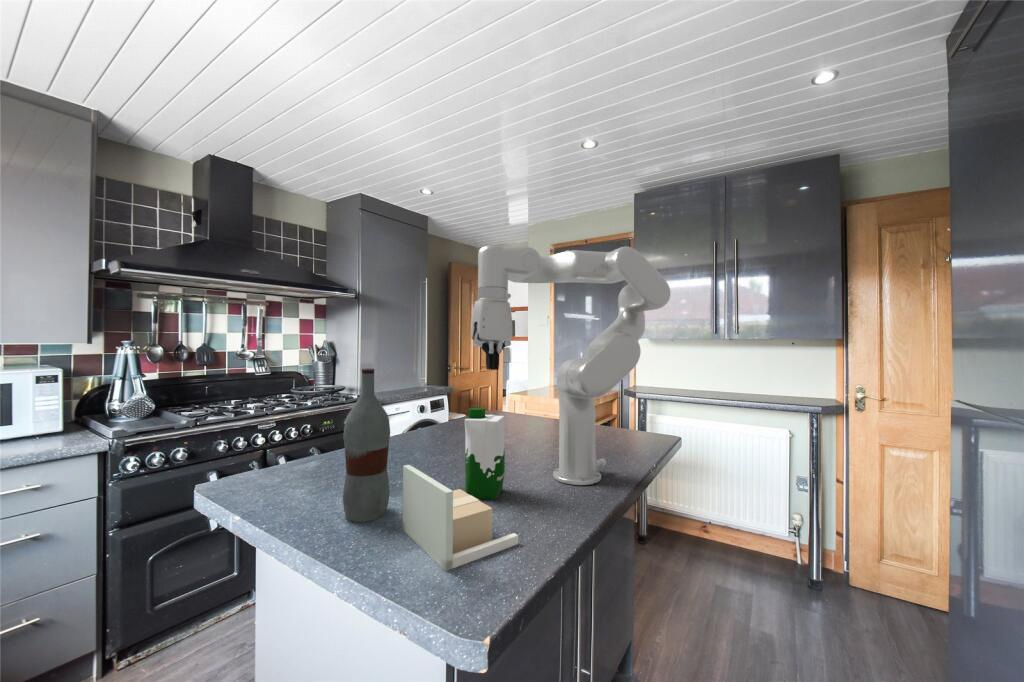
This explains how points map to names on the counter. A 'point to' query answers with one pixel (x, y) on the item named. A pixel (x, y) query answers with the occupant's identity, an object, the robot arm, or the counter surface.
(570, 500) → the counter surface
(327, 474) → the counter surface
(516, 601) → the counter surface
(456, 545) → the kraft carton
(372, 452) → the bottle
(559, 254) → the robot arm
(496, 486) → the milk carton
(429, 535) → the display stand
